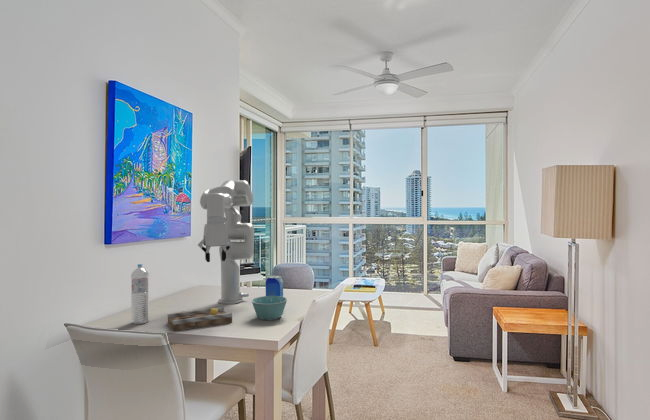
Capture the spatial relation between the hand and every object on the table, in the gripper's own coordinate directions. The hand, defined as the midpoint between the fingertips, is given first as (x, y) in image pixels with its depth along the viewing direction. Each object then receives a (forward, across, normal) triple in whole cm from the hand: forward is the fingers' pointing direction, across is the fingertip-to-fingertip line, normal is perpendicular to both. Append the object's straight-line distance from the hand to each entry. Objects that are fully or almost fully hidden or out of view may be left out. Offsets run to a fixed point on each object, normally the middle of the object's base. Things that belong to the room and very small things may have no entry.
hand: (215, 260), depth 186 cm
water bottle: (+26, +30, -10) cm, 41 cm away
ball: (+21, +2, +4) cm, 22 cm away
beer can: (+26, -29, -2) cm, 39 cm away
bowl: (+26, -21, +11) cm, 35 cm away
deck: (+26, +8, +4) cm, 27 cm away
